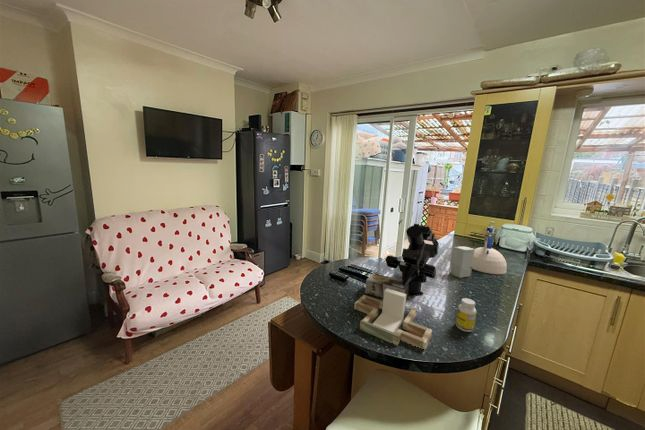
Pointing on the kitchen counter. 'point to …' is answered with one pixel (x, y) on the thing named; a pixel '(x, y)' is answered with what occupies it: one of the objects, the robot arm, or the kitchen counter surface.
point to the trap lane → (413, 336)
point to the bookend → (392, 310)
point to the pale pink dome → (488, 259)
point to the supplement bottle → (466, 315)
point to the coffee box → (384, 285)
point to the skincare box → (462, 261)
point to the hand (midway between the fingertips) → (403, 285)
